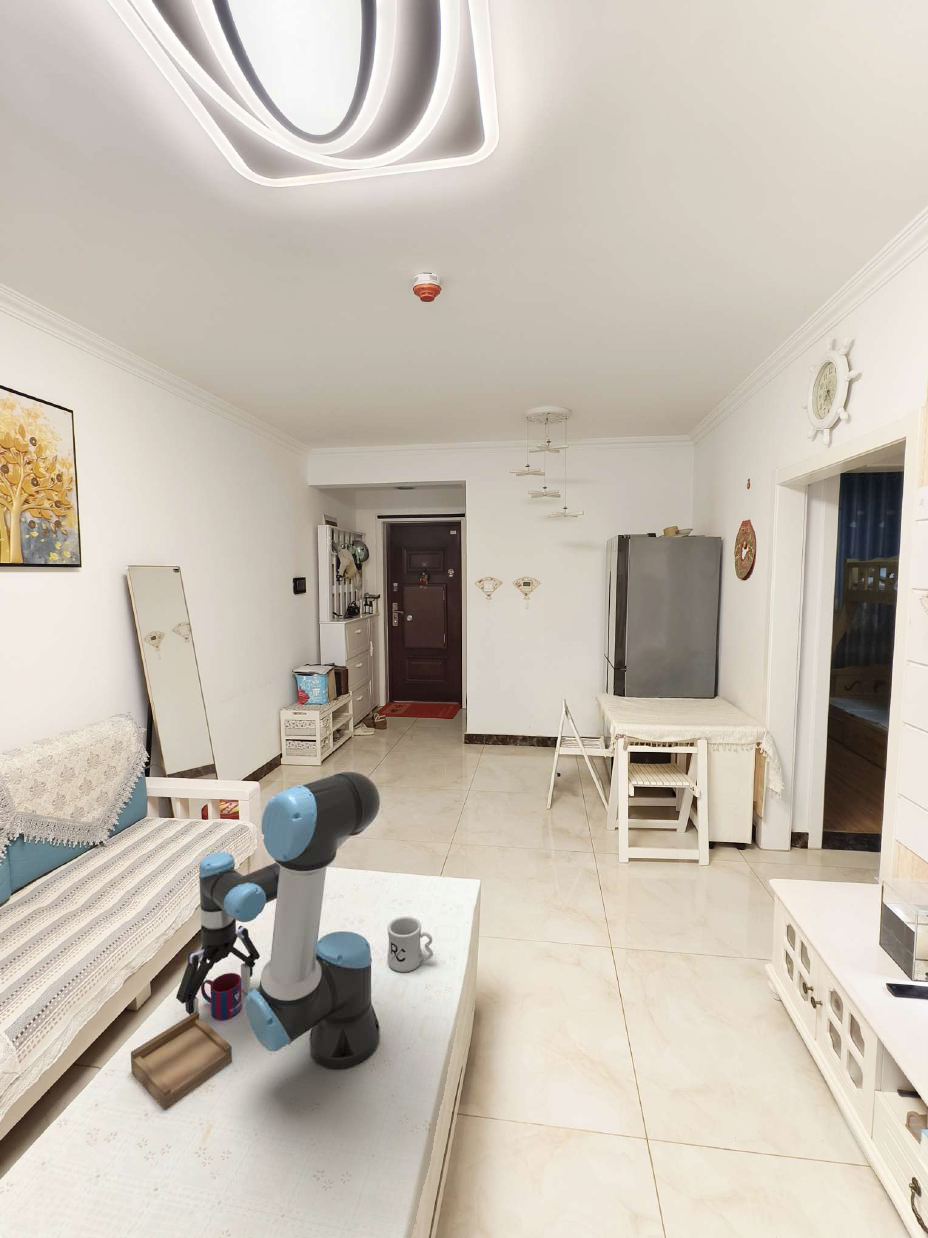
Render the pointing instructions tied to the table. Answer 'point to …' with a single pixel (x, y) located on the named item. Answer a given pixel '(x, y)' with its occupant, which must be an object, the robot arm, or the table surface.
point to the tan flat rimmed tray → (180, 1059)
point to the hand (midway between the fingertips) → (221, 1007)
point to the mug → (406, 944)
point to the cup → (224, 996)
